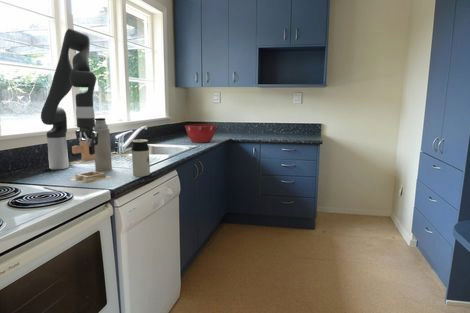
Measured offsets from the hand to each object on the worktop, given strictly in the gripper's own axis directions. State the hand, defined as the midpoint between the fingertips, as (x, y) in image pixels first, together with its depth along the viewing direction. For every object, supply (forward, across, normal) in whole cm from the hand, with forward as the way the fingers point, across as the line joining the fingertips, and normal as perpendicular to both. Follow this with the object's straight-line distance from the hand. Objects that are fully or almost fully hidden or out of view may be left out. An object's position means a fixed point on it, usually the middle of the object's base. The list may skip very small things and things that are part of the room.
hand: (87, 153), depth 148 cm
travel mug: (+13, -14, -19) cm, 27 cm away
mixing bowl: (+13, +43, -138) cm, 145 cm away
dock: (+13, 0, 0) cm, 13 cm away
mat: (+13, -2, +13) cm, 18 cm away
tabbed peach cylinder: (+3, 0, +2) cm, 4 cm away
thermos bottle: (+13, +11, -15) cm, 23 cm away
